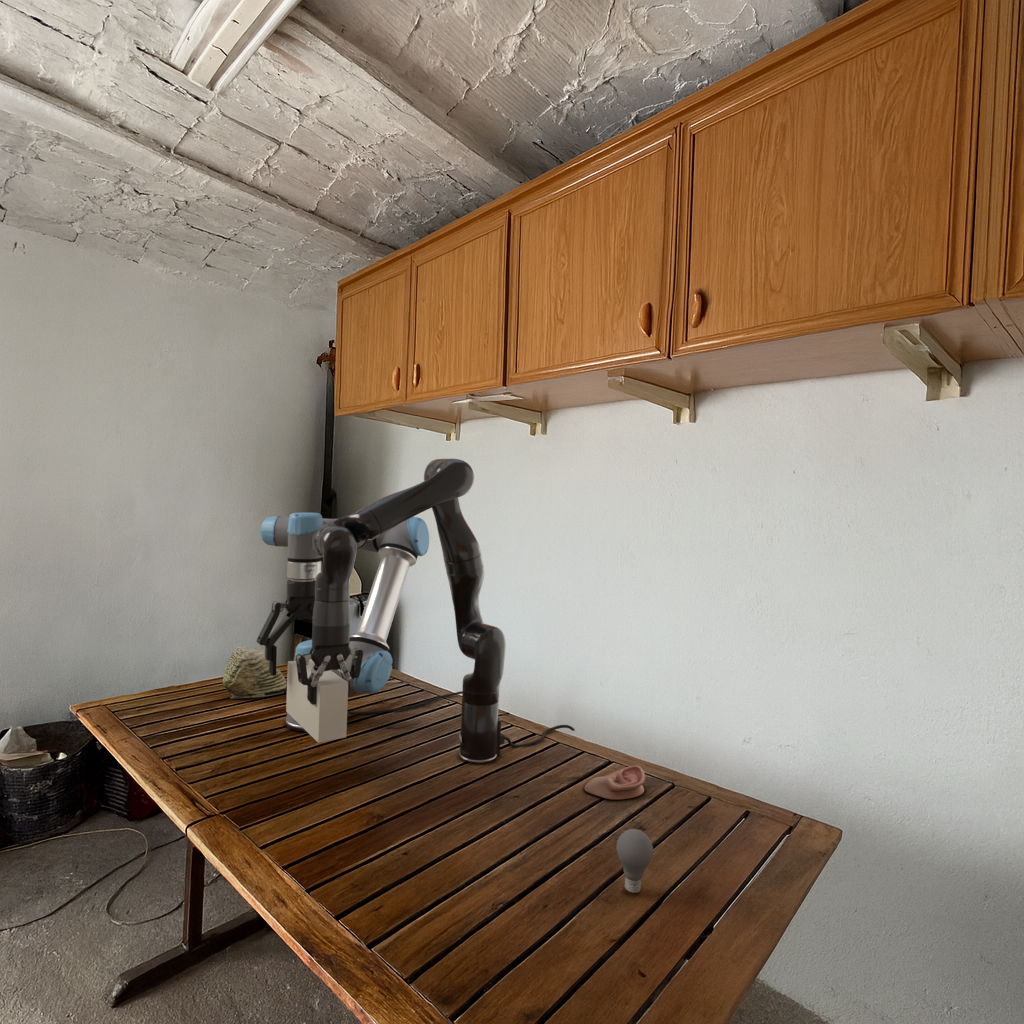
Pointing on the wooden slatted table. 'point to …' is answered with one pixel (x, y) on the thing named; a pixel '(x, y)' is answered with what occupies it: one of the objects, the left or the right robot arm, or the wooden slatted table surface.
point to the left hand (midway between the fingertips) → (302, 669)
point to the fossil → (251, 675)
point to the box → (318, 704)
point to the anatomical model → (618, 784)
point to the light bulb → (634, 857)
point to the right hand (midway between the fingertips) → (328, 700)
